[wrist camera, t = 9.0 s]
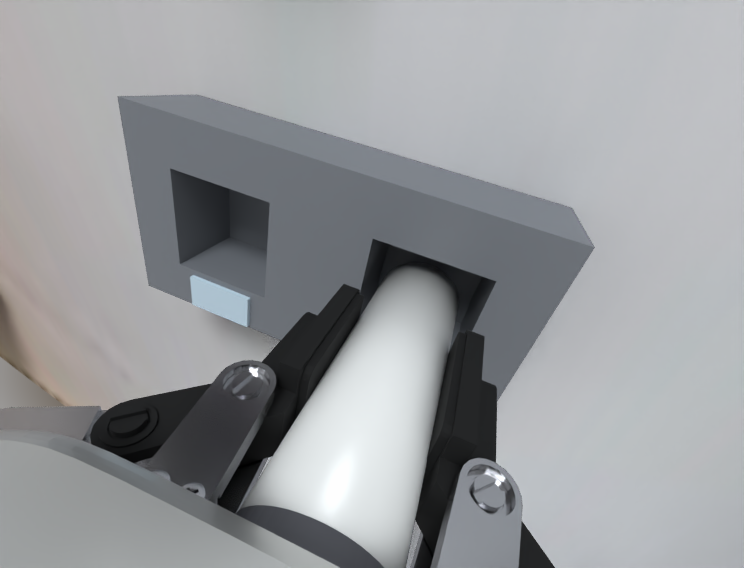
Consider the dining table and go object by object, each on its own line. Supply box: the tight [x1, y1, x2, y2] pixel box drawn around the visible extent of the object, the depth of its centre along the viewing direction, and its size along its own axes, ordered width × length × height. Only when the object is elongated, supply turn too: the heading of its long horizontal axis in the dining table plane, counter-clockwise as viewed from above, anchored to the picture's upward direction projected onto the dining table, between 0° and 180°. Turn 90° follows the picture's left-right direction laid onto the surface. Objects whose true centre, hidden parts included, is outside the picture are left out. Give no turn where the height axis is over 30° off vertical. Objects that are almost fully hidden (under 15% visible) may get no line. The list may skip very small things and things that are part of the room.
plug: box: [236, 262, 459, 568], centre depth 9 cm, size 3×3×11 cm
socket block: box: [118, 95, 595, 401], centre depth 15 cm, size 17×8×4 cm, turn 76°
